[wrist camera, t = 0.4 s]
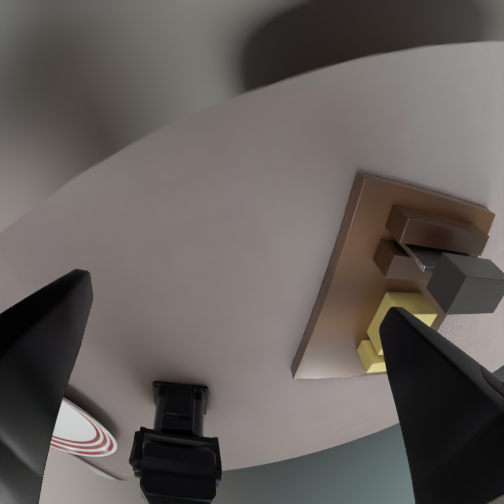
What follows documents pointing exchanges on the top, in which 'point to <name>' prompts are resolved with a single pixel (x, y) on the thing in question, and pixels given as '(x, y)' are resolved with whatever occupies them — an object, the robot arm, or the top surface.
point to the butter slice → (370, 357)
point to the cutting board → (365, 276)
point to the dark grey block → (459, 279)
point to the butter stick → (408, 301)
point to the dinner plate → (81, 433)
